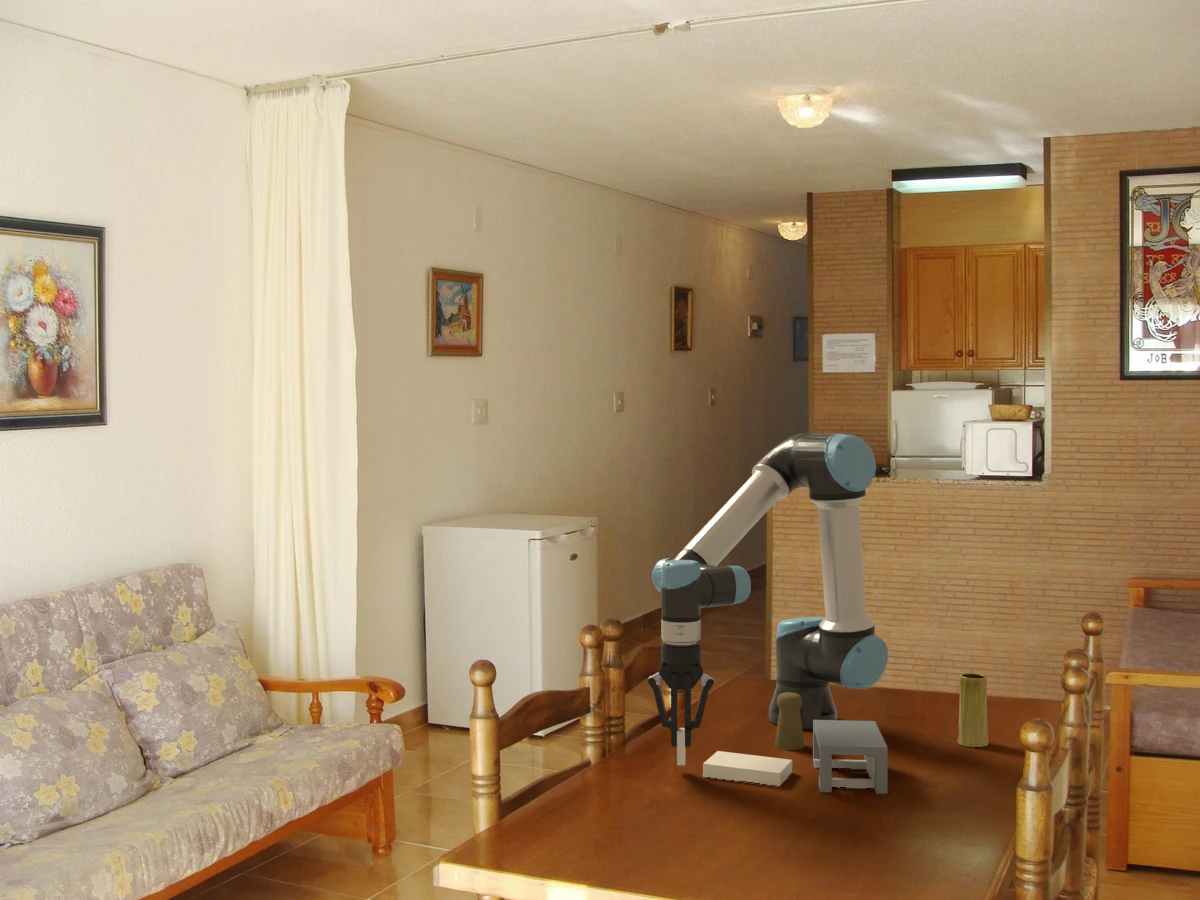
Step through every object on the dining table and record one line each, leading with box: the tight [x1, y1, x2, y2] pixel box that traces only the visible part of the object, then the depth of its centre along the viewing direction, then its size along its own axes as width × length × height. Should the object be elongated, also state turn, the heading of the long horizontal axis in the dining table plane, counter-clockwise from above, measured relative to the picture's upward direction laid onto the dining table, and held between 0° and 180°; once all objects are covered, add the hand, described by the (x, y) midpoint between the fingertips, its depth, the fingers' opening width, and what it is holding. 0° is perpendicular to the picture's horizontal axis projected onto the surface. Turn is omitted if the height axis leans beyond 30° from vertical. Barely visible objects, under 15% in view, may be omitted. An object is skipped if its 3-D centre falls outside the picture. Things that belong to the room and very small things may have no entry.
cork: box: [774, 692, 805, 751], centre depth 245 cm, size 6×6×11 cm
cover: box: [702, 750, 793, 787], centre depth 226 cm, size 9×15×3 cm, turn 66°
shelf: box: [812, 719, 889, 795], centre depth 224 cm, size 18×12×8 cm, turn 174°
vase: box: [957, 672, 989, 748], centre depth 246 cm, size 6×6×14 cm
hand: (681, 763), depth 227 cm, fingers closed
